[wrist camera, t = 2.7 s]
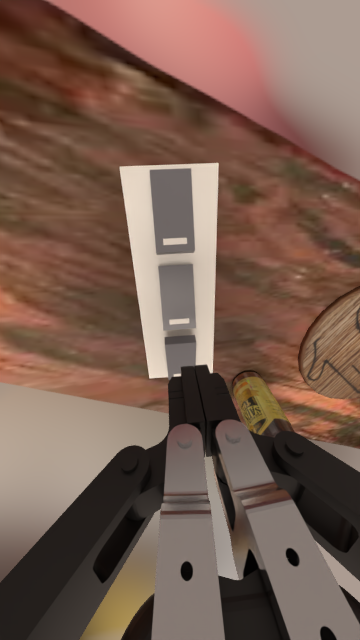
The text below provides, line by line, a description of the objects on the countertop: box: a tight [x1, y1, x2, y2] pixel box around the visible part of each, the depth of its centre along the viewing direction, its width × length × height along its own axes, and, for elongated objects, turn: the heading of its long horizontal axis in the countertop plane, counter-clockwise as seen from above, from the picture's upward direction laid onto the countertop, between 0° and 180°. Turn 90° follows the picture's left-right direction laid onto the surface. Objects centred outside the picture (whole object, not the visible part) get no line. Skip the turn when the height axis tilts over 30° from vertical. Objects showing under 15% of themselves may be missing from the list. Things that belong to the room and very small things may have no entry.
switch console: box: [120, 163, 219, 378], centre depth 28 cm, size 27×10×5 cm, turn 3°
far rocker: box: [165, 335, 196, 380], centre depth 28 cm, size 8×4×2 cm, turn 2°
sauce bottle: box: [233, 372, 294, 438], centre depth 31 cm, size 7×6×20 cm
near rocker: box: [150, 168, 195, 255], centre depth 21 cm, size 8×4×2 cm, turn 3°
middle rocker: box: [158, 264, 196, 331], centre depth 24 cm, size 8×4×2 cm, turn 3°
